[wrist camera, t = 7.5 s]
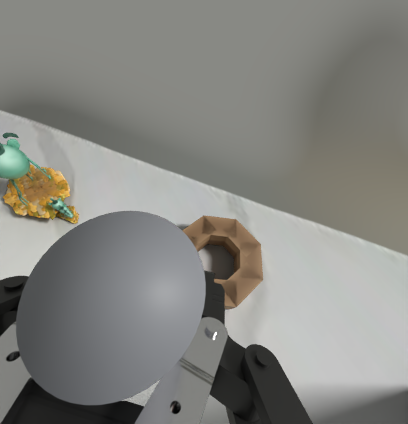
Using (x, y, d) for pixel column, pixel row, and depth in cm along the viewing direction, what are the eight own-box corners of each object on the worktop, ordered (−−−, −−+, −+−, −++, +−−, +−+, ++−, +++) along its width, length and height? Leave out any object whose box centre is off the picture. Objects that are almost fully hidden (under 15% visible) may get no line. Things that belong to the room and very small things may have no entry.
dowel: (191, 292, 18) (210, 219, 6) (186, 346, 16) (197, 412, 4) (146, 288, 18) (66, 203, 5) (135, 342, 16) (-32, 397, 3)
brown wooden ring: (251, 232, 36) (259, 222, 33) (255, 311, 30) (265, 309, 26) (180, 223, 35) (180, 212, 32) (167, 303, 29) (166, 299, 25)
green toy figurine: (32, 251, 31) (-78, 187, 19) (3, 185, 38) (-90, 108, 26) (92, 216, 34) (33, 145, 22) (55, 162, 42) (-5, 86, 30)
